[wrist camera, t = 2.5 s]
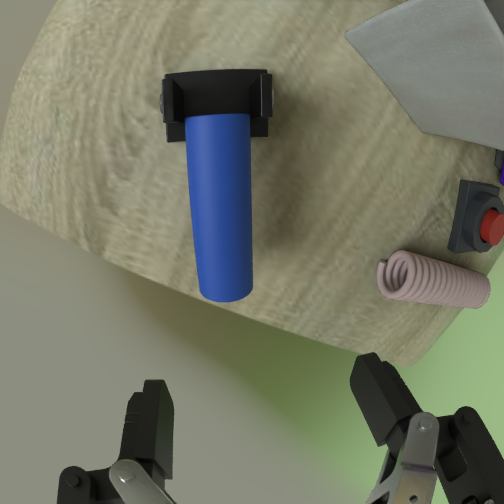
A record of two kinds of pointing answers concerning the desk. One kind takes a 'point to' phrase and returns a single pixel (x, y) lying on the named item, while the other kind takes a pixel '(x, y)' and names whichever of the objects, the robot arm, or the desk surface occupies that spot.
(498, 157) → the handheld gaming console
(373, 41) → the planter
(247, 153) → the tube
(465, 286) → the coil
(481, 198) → the housing
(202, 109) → the bracket
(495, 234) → the button
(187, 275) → the desk surface
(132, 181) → the desk surface
